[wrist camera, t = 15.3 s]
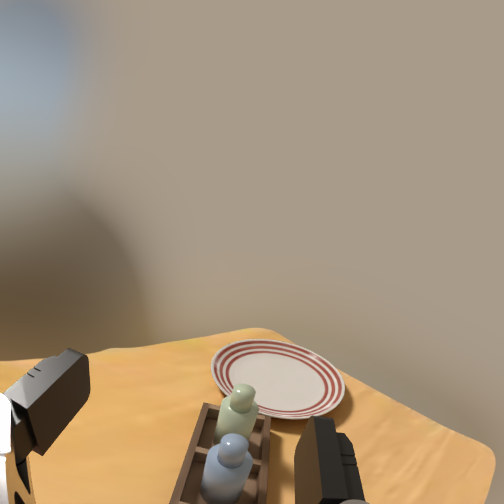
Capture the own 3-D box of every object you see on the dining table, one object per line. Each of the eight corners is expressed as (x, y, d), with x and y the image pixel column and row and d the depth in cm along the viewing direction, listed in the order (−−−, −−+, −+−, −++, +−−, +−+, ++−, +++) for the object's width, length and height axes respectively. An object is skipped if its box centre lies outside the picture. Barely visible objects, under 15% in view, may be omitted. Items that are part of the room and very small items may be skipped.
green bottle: (210, 450, 39) (222, 397, 37) (216, 428, 44) (227, 375, 42) (245, 457, 39) (263, 406, 37) (248, 435, 44) (264, 383, 42)
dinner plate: (246, 444, 43) (251, 431, 42) (190, 353, 66) (192, 340, 65) (365, 408, 56) (371, 396, 55) (293, 345, 79) (296, 334, 79)
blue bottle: (196, 502, 29) (206, 454, 27) (203, 474, 34) (215, 422, 32) (237, 511, 29) (257, 464, 27) (241, 482, 34) (260, 432, 32)
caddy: (168, 514, 27) (168, 504, 26) (201, 415, 47) (203, 402, 47) (258, 533, 26) (264, 524, 26) (266, 429, 47) (270, 416, 46)
